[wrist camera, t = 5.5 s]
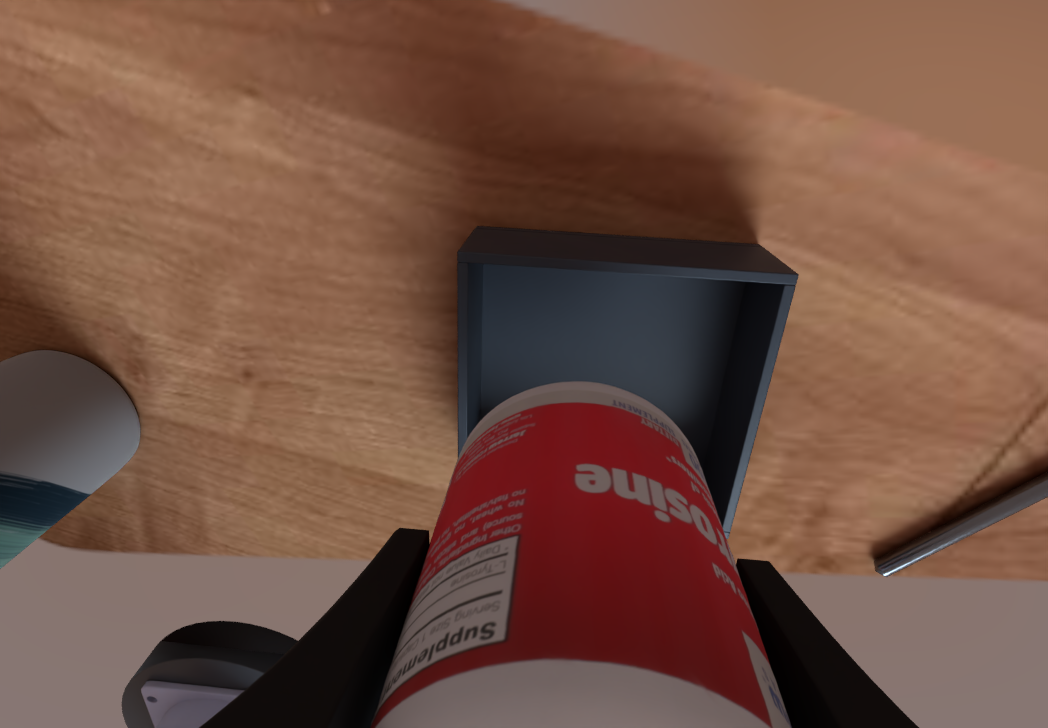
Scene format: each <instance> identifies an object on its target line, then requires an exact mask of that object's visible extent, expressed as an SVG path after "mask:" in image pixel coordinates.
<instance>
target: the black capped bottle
mask: <svg viewBox="0 0 1048 728" xmlns="http://www.w3.org/2000/svg"><path fill="white" fill-rule="evenodd" d="M139 441H140V423H139V418H138V415H137V412H136V410H135V408H134V405H133V403H132V402H131V400H130V398H129V397H128V395H127V394H126V393H125V391H124V390H123V389H122V388H121V387H120V385H119V384H118V383H117V382H116V381H115V380H114V379H113V378H111V377H110V376H109V375H108V374H107V373H105V372H104V371H103V370H101V369H100V368H98V367H97V366H95V365H94V364H92V363H90V362H88V361H86V360H84V359H82V358H79V357H77V356H74V355H71V354H68V353H64V352H59V351H52V350H38V351H32V352H27V353H23V354H20V355H17V356H14V357H12V358H9V359H6V360H4V361H2V362H0V569H1V568H2V567H3V566H4V565H6V564H7V563H8V562H9V561H10V560H11V559H13V558H14V557H15V556H17V555H18V554H19V553H20V552H21V551H23V550H24V549H25V548H26V547H27V546H29V545H30V544H31V543H32V542H33V541H35V540H36V539H37V538H38V537H40V536H41V535H42V534H43V533H45V532H46V531H47V530H48V529H49V528H51V527H52V526H53V525H54V524H56V523H57V522H58V521H59V520H60V519H62V518H63V517H64V516H65V515H66V514H68V513H69V512H70V511H71V510H73V509H74V508H75V507H76V506H77V505H79V504H80V503H81V502H82V501H84V500H85V499H86V498H87V497H88V496H90V495H91V494H92V493H93V492H94V491H96V490H97V489H98V488H99V487H100V486H102V485H103V484H104V483H105V482H106V481H108V480H109V479H110V478H111V477H112V476H113V475H114V474H116V473H117V472H118V471H119V470H120V469H121V468H122V467H123V466H124V465H125V464H126V463H127V462H128V461H129V460H130V459H131V458H132V456H133V455H134V453H135V452H136V450H137V448H138V445H139Z"/></svg>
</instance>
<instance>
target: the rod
mask: <svg viewBox="0 0 1048 728" xmlns="http://www.w3.org/2000/svg"><path fill="white" fill-rule="evenodd" d="M1047 497H1048V472H1046V473H1044V474H1042V475H1040V476H1038V477H1036V478H1034V479H1032V480H1030V481H1028V482H1026V483H1024V484H1022V485H1020V486H1018V487H1016V488H1014V489H1013V490H1011V491H1009V492H1007V493H1005V494H1003V495H1001V496H999V497H997V498H995V499H993V500H991V501H989V502H987V503H985V504H983V505H981V506H979V507H977V508H975V509H973V510H972V511H970V512H968V513H966V514H964V515H962V516H960V517H958V518H956V519H954V520H952V521H950V522H948V523H946V524H944V525H942V526H940V527H938V528H936V529H934V530H933V531H931V532H929V533H927V534H925V535H923V536H921V537H919V538H917V539H915V540H913V541H911V542H909V543H907V544H905V545H903V546H901V547H899V548H897V549H895V550H894V551H892V552H890V553H888V554H886V555H884V556H882V557H880V558H878V559H876V560H875V561H874V565H875V571H876V572H878V573H880V574H881V575H883V576H885V577H888V576H890V575H892V574H894V573H896V572H898V571H900V570H902V569H904V568H906V567H908V566H910V565H912V564H914V563H916V562H918V561H920V560H922V559H924V558H926V557H928V556H930V555H932V554H934V553H936V552H938V551H940V550H942V549H944V548H946V547H948V546H950V545H952V544H954V543H956V542H958V541H960V540H962V539H964V538H966V537H968V536H970V535H972V534H974V533H976V532H978V531H980V530H982V529H984V528H986V527H988V526H990V525H993V524H995V523H997V522H999V521H1001V520H1003V519H1005V518H1007V517H1009V516H1011V515H1013V514H1015V513H1017V512H1019V511H1021V510H1023V509H1025V508H1027V507H1029V506H1031V505H1033V504H1035V503H1037V502H1039V501H1041V500H1043V499H1045V498H1047Z"/></svg>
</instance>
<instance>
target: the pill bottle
mask: <svg viewBox="0 0 1048 728" xmlns="http://www.w3.org/2000/svg"><path fill="white" fill-rule="evenodd" d="M370 728H792V726H791V723H790V720H789V718H788V715H787V712H786V709H785V706H784V703H783V700H782V697H781V694H780V691H779V688H778V685H777V682H776V680H775V677H774V674H773V672H772V669H771V666H770V663H769V660H768V657H767V654H766V651H765V648H764V645H763V642H762V640H761V637H760V633H759V630H758V627H757V624H756V622H755V619H754V616H753V614H752V611H751V608H750V605H749V602H748V598H747V595H746V593H745V590H744V588H743V585H742V582H741V579H740V576H739V573H738V570H737V567H736V564H735V560H734V558H733V555H732V553H731V551H730V548H729V545H728V542H727V539H726V537H725V534H724V531H723V528H722V525H721V522H720V519H719V517H718V514H717V511H716V508H715V505H714V502H713V500H712V496H711V494H710V491H709V488H708V486H707V483H706V480H705V477H704V474H703V471H702V468H701V466H700V463H699V461H698V459H697V456H696V454H695V452H694V450H693V448H692V446H691V445H690V443H689V441H688V440H687V438H686V437H685V436H684V434H683V433H682V432H681V430H680V429H679V427H678V426H677V425H676V424H675V423H674V422H673V421H672V420H671V419H670V418H669V417H668V416H667V415H666V414H665V413H663V412H662V411H661V410H660V409H658V408H657V407H656V406H654V405H653V404H651V403H650V402H648V401H647V400H645V399H643V398H641V397H639V396H637V395H635V394H633V393H631V392H628V391H625V390H623V389H620V388H617V387H614V386H610V385H606V384H602V383H595V382H583V381H571V382H559V383H552V384H547V385H543V386H539V387H535V388H532V389H529V390H526V391H524V392H521V393H519V394H517V395H514V396H512V397H511V398H509V399H507V400H505V401H504V402H502V403H501V404H499V405H498V406H496V407H495V408H494V409H493V410H491V411H490V412H489V413H488V414H487V415H486V416H485V417H484V418H483V419H482V420H481V421H480V422H479V423H478V424H477V426H476V427H475V428H474V429H473V431H472V432H471V433H470V435H469V437H468V438H467V440H466V442H465V444H464V446H463V448H462V451H461V453H460V455H459V458H458V460H457V463H456V466H455V469H454V472H453V475H452V477H451V480H450V483H449V487H448V490H447V494H446V497H445V500H444V502H443V505H442V508H441V511H440V515H439V517H438V520H437V523H436V527H435V529H434V533H433V536H432V539H431V542H430V545H429V548H428V551H427V555H426V558H425V561H424V564H423V567H422V571H421V574H420V576H419V579H418V582H417V586H416V588H415V591H414V594H413V597H412V601H411V604H410V607H409V610H408V613H407V616H406V619H405V622H404V625H403V629H402V632H401V635H400V638H399V641H398V644H397V647H396V651H395V654H394V657H393V660H392V663H391V666H390V669H389V672H388V675H387V678H386V680H385V683H384V687H383V690H382V693H381V696H380V700H379V703H378V706H377V708H376V711H375V714H374V716H373V719H372V723H371V727H370Z"/></svg>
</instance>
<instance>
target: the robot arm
mask: <svg viewBox="0 0 1048 728" xmlns="http://www.w3.org/2000/svg"><path fill="white" fill-rule="evenodd" d="M428 548H429V531H428V530H417V529H406V528H399V529H398V530H396V531H395V532H394V533H393V535H392V536H391V537H390V539H389V540H388V541H387V542H386V544H385V545H384V546H383V548H382V549H381V550H380V551H379V553H378V554H377V555H376V556H375V558H374V559H373V560H372V561H371V562H370V564H369V565H368V566H367V567H366V569H365V570H364V571H363V572H362V573H361V574H360V576H359V577H358V578H357V579H356V580H355V582H353V584H352V585H351V586H350V587H349V588H348V589H347V590H346V591H345V593H344V594H343V595H342V596H341V597H340V598H339V599H338V601H337V602H336V603H335V604H334V605H333V606H332V607H331V608H330V609H329V610H328V611H327V613H325V615H324V616H323V617H322V618H321V619H320V620H319V621H318V622H317V623H316V624H315V625H314V626H313V627H312V628H311V629H310V630H309V631H308V632H307V633H306V634H305V635H304V636H303V637H302V638H301V639H300V640H299V641H298V642H297V643H296V644H295V645H294V646H293V647H292V648H291V649H290V650H289V651H288V652H287V653H286V654H285V655H283V656H282V657H281V658H280V659H279V660H278V661H277V662H276V663H275V664H274V665H273V666H272V667H271V668H269V669H268V670H267V671H266V672H265V673H264V674H263V675H262V676H261V677H259V678H258V679H257V680H256V681H255V682H254V683H253V684H251V685H250V686H249V687H248V688H247V689H246V690H238V689H228V688H219V687H210V686H200V685H191V684H182V683H172V682H163V681H154V680H151V681H147V682H146V683H145V684H144V686H143V687H142V688H141V693H142V695H143V698H144V701H145V703H146V706H147V709H148V711H149V714H150V716H151V719H152V722H153V724H154V727H155V728H370V727H371V723H372V719H373V716H374V714H375V711H376V708H377V706H378V703H379V700H380V696H381V693H382V690H383V687H384V683H385V680H386V678H387V675H388V672H389V669H390V666H391V663H392V660H393V657H394V654H395V651H396V647H397V644H398V641H399V638H400V635H401V632H402V629H403V625H404V622H405V619H406V616H407V613H408V610H409V607H410V604H411V601H412V597H413V594H414V591H415V588H416V586H417V582H418V579H419V576H420V574H421V571H422V567H423V564H424V561H425V558H426V555H427V551H428ZM736 567H737V570H738V573H739V576H740V579H741V582H742V585H743V588H744V590H745V593H746V595H747V598H748V602H749V605H750V608H751V611H752V614H753V616H754V619H755V622H756V624H757V627H758V630H759V633H760V637H761V640H762V642H763V645H764V648H765V651H766V654H767V657H768V660H769V663H770V666H771V669H772V672H773V674H774V677H775V680H776V682H777V685H778V688H779V691H780V694H781V697H782V700H783V703H784V706H785V709H786V712H787V715H788V718H789V720H790V723H791V726H792V728H919V727H918V726H917V725H915V723H914V722H912V721H911V720H910V719H909V718H908V717H907V716H906V715H905V714H904V713H903V712H902V711H901V710H900V709H899V707H897V706H896V705H895V703H894V702H893V701H892V700H891V699H890V698H889V697H888V696H887V695H886V694H885V693H884V692H883V691H882V690H881V689H880V688H879V687H878V686H877V685H876V684H875V683H874V682H873V681H872V680H871V679H870V678H869V676H868V675H867V674H866V673H865V672H864V671H863V670H862V669H861V668H860V667H859V666H858V665H857V663H856V662H855V661H854V660H853V659H852V658H851V657H850V656H849V655H848V653H847V652H846V651H845V650H844V649H843V648H842V647H841V646H840V644H839V643H838V642H837V641H836V640H835V639H834V638H833V637H832V636H831V634H830V633H829V632H828V631H827V630H826V628H825V627H824V626H823V625H822V624H821V623H820V621H819V620H818V619H817V618H816V617H815V616H814V614H813V613H812V612H811V611H810V610H809V609H808V607H807V606H806V605H805V604H804V603H803V601H802V600H801V599H800V598H799V597H798V595H796V593H795V592H794V591H793V589H792V588H791V587H790V586H789V585H788V584H787V582H786V581H785V580H784V579H783V577H782V576H781V575H780V574H779V573H778V571H777V570H776V569H775V568H774V567H773V566H772V564H771V563H770V562H769V561H760V560H749V559H737V563H736Z"/></svg>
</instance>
